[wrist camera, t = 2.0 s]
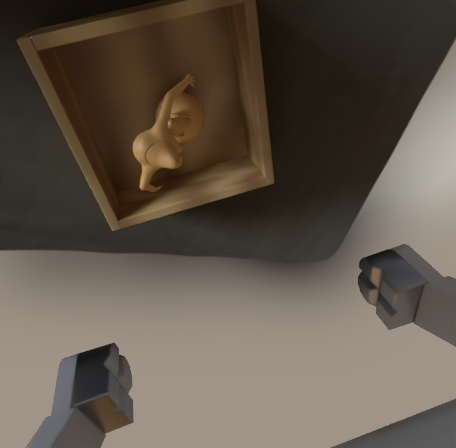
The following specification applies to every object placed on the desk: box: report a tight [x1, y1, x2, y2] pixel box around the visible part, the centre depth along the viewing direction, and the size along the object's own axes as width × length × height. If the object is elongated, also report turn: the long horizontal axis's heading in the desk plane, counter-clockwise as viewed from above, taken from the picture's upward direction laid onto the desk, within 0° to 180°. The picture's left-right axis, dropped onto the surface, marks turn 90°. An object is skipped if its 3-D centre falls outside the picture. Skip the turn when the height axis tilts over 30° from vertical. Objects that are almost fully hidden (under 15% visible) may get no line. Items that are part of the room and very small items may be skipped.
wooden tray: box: [17, 0, 274, 231], centre depth 27 cm, size 15×15×6 cm
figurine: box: [133, 74, 205, 192], centre depth 24 cm, size 8×6×12 cm
